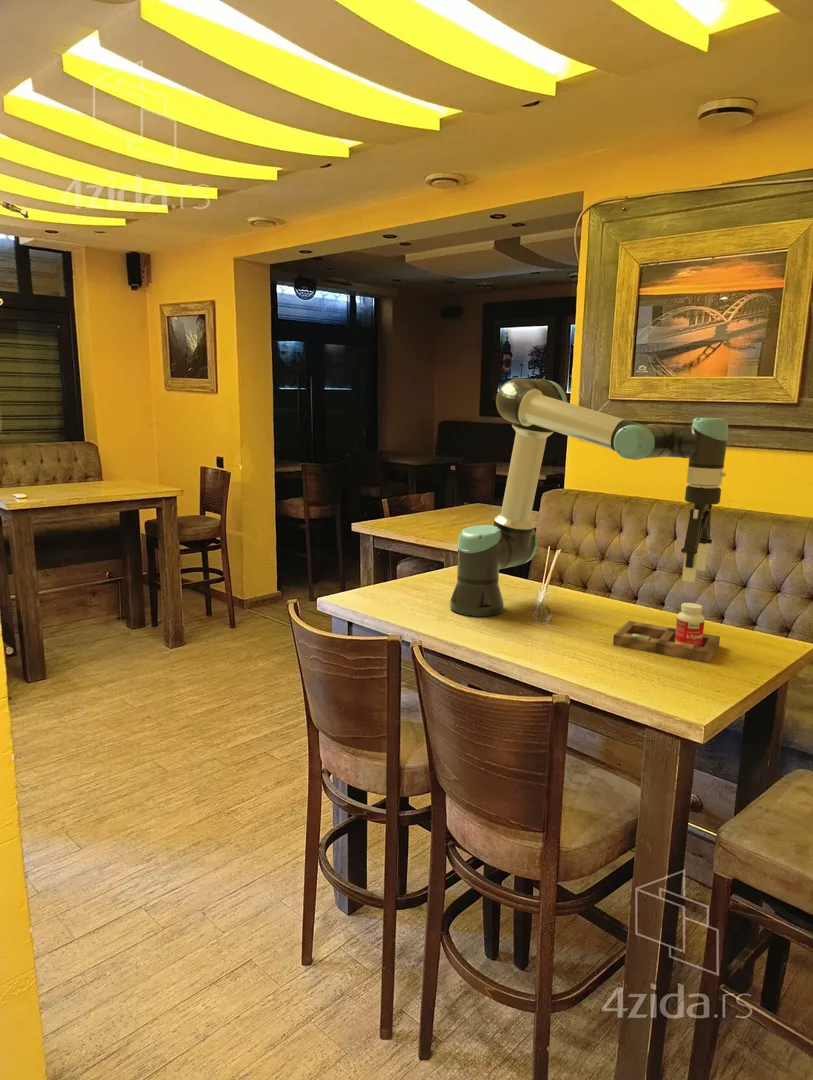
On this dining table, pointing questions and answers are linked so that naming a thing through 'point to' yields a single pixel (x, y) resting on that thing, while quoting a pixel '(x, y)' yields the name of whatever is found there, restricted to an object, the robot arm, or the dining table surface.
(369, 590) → the dining table surface
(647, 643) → the socket board
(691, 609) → the pill bottle
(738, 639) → the dining table surface
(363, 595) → the dining table surface
